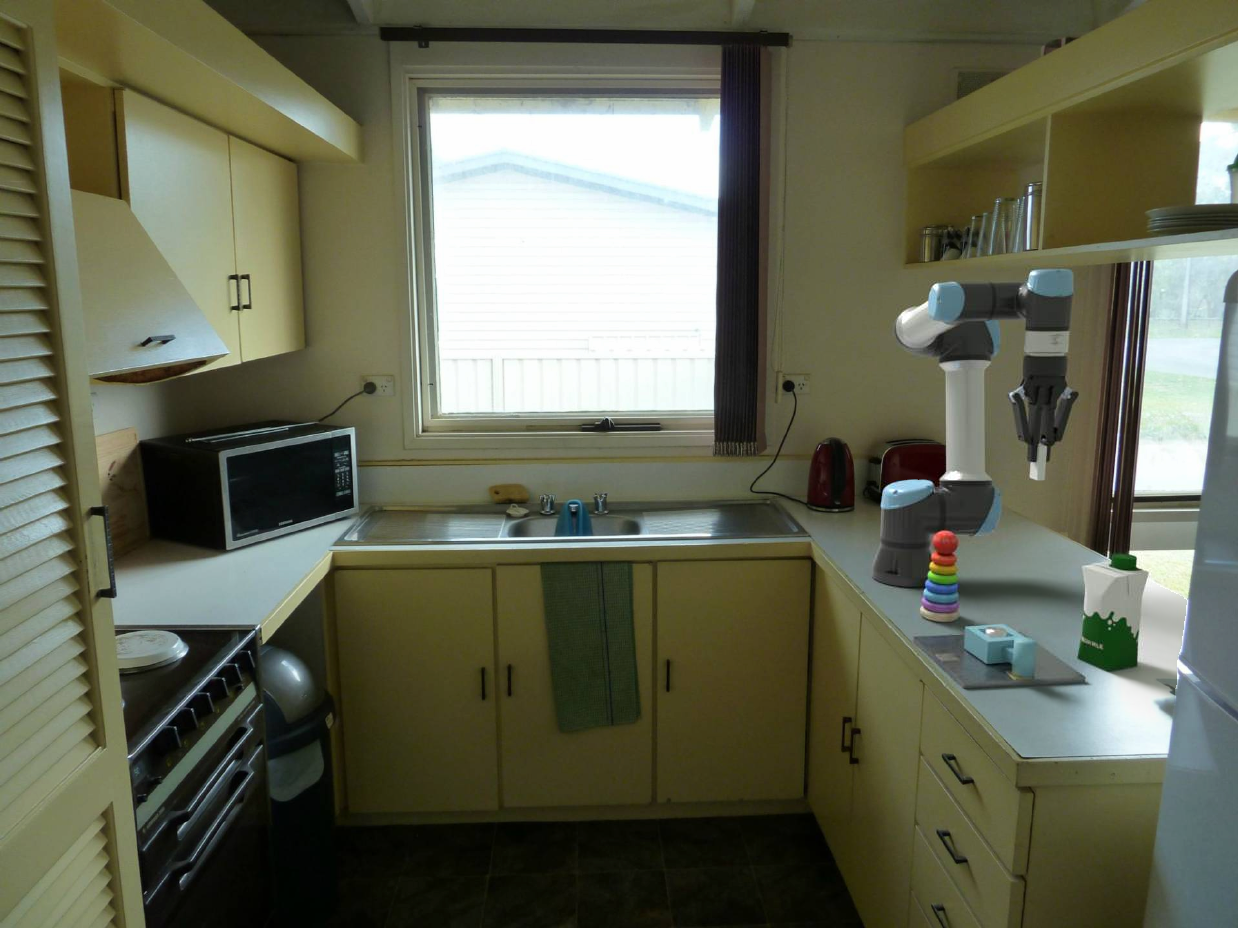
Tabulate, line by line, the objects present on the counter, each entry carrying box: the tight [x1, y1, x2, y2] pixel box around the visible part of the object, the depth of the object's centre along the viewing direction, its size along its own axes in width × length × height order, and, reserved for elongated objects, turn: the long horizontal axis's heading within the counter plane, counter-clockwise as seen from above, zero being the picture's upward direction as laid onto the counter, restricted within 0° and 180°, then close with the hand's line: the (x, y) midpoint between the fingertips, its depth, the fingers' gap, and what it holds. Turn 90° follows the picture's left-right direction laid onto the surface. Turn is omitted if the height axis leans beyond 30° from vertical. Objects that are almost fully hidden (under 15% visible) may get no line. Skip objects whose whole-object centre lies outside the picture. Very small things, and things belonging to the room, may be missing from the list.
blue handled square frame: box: [964, 623, 1037, 678], centre depth 166 cm, size 8×15×6 cm, turn 9°
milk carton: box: [1076, 552, 1150, 673], centre depth 167 cm, size 9×9×20 cm
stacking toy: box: [919, 531, 960, 623], centre depth 192 cm, size 8×8×19 cm
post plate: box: [912, 627, 1086, 689], centre depth 170 cm, size 22×22×6 cm
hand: (1037, 478), depth 174 cm, fingers closed
